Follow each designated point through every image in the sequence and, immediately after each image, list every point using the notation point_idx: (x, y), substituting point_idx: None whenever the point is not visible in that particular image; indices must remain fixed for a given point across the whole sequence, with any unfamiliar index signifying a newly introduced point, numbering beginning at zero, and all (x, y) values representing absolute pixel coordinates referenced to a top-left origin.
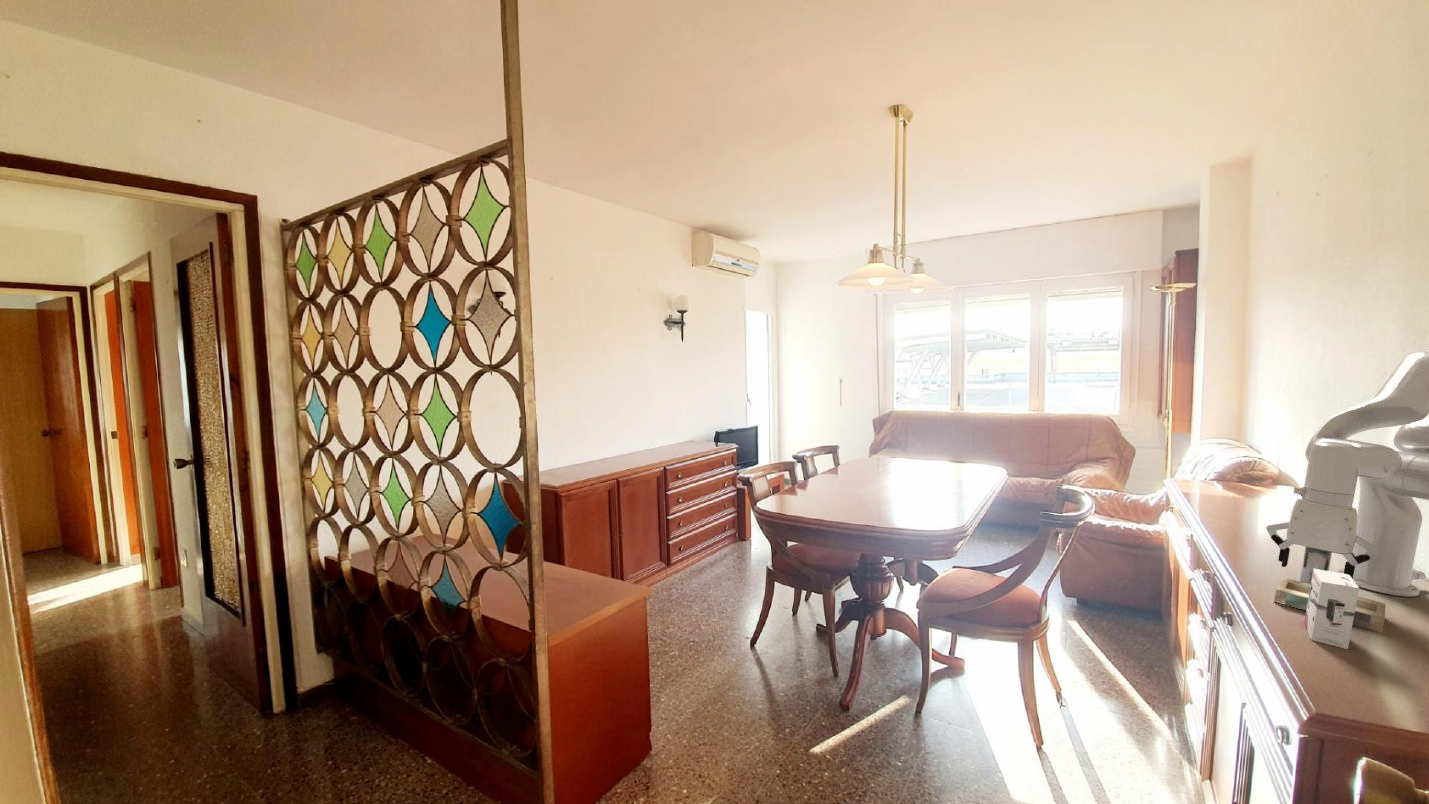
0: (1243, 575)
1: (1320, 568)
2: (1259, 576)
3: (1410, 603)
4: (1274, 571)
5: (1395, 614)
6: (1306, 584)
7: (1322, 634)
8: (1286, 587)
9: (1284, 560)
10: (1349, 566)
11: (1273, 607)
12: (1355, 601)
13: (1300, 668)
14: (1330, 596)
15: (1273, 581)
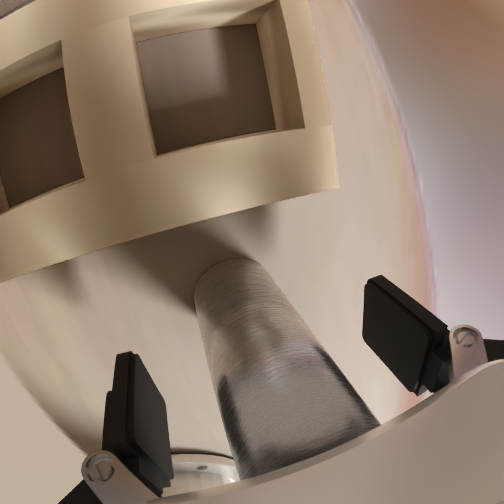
0: (408, 223)
1: (240, 353)
2: (377, 272)
3: (89, 448)
4: (351, 367)
5: (26, 338)
6: (238, 187)
7: None
8: (288, 93)
9: (395, 293)
10: (111, 434)
11: None
12: None
13: None
14: None
15: (342, 267)
